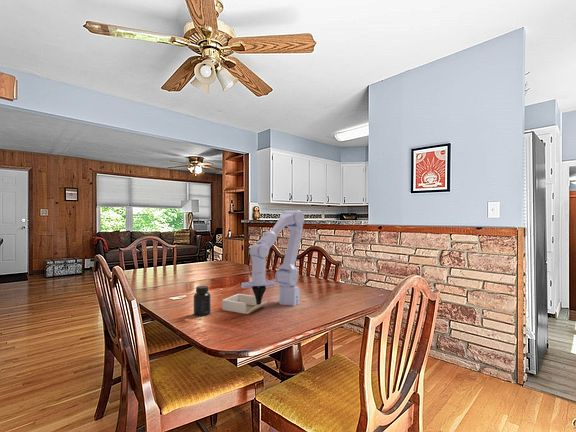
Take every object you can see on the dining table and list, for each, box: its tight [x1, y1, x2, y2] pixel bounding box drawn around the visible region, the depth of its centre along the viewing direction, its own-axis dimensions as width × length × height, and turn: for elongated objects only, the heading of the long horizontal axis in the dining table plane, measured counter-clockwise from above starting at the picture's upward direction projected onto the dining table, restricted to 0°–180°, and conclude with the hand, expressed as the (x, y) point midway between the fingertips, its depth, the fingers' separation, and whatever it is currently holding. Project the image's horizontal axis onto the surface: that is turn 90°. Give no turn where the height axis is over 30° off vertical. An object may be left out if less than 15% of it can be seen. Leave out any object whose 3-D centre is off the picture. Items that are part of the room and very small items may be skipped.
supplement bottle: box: [193, 285, 212, 317], centre depth 129 cm, size 7×7×12 cm
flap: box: [246, 300, 269, 315], centre depth 134 cm, size 1×12×4 cm
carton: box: [221, 293, 257, 315], centre depth 137 cm, size 12×12×5 cm
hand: (258, 303), depth 133 cm, fingers closed, pressing on flap
